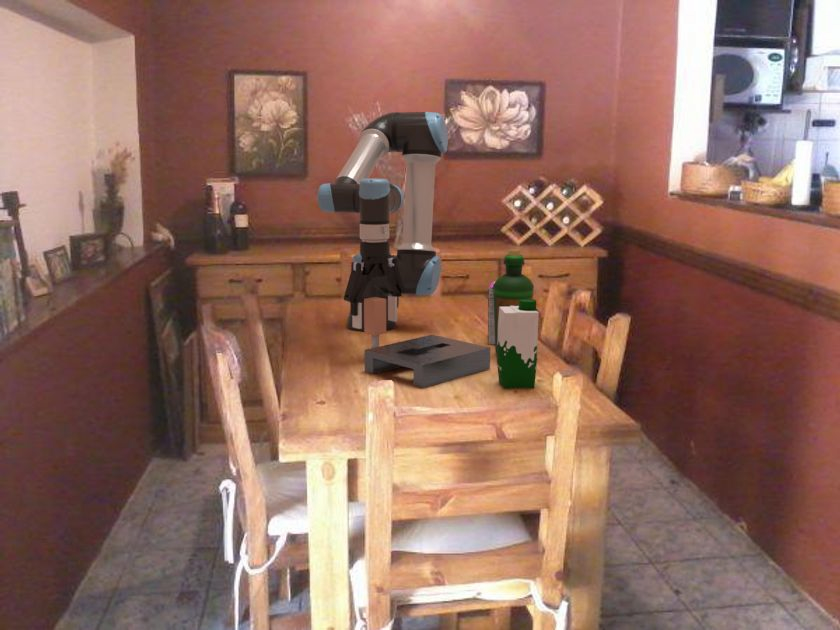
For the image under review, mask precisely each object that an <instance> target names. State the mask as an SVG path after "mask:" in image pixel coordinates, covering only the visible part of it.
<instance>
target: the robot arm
mask: <svg viewBox="0 0 840 630" xmlns="http://www.w3.org/2000/svg"><path fill="white" fill-rule="evenodd" d="M447 130H448V129H447V125H446V121H445V119H444V117H443V116H442V114H441V113H440V112H433V111H432V112H431V111H413V112H412V111H410V112H409V111H407V112H405V111H404V112H394V111H393V112H389V113H385V114H382V115H380V116H379V117H377V118H375V119H374V120H372V121H371V122H369V123H368V124H367V125H366V126H365V127H364V128H363V130H361V132H360V134H359V136H358V137H357V145H356V147H355V149H353V152H352V153H351V155H350V156H349V158H348V159H347V161H346V163H345V164H344V166H343V168H342V169H341V170H340V172H339V174H338V176H337V177H336V179H335V180H334V181H333V183H330V182H329V183H323V184H321V185H319V187H318V191H317V204H318V207H319V208H320V210H321V211H322V212H325V213H334V214H336V213H344V214H345V213H348V214H350V213H351V214H354V213H355V214H359V239H360V240H361V241H360V242H359V252H358V253H356V254H355V255H353V257H352V262H351V265H350V267H351V268H350V270H351V271H350V275H349V278H348V281H347V284H346V288H345V292H344V296H343V301H346V302H348V303H350V306H349V307H350V310H349V314H348V316H347V319H346V326H347V327H346V328H348V329H350V330H353V331H360V332H364V299H366V298H372V297H379V298H384V299H386V331H388V330H393V329H395V328H396V327H397V322H398V309H399V301H400V299H399V297H402V295H407V296H408V295H409V296H410V295H411V296H417V297H418V296H431V295H433V294H434V293H435V292H436V291H437V287H438V286H439V282H440V280H441V276H442V275H441V273H442V260H441V259H442V258H441V257H439V256H437V250H436V249H435V248H434V247H433V246H432V241H433V240H432V237H433V220H434V219H433V217H434V203H435V202H434V201H435V199H434V197H435V178H436V165H437V164H438V163H439V162H440V161H441V160H442V154H444V153H446V152H447V151H448V146H449V139H448V138H449V137H448V131H447ZM389 153H401V158H402V159H403V161H404V162H405V164H406V168H405V169H406V172H405V187H404V188H405V190H404V192H403V190H402V188H400V186H397V185H396V184H393V183H390V181H389V180H388V179H386V178H376V177H373V178H370V176H371V175H372V173H373V171H374V169H375V168H376V166H377V165H378V163H379V161H380V159H382V158H384V157H385V156H386V155H387V154H389ZM403 205H404V208H403V209H404V213H403V233H402V243H401V245H400V246H398V247H397V249H396V251H397V252H396V254H392V252H391V250H390V245H391V243H390V242H389V241H388V240H389V239H390V214H391V215H392V214H393V213H396V212H398V211H399V210H400V209H401V208H402V207H403Z"/></svg>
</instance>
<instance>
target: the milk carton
mask: <svg viewBox="0 0 840 630" xmlns="http://www.w3.org/2000/svg"><path fill="white" fill-rule="evenodd" d="M539 317H540V313H539V311H538V308H537V300H536V299H534V298H533V299H520V300H519V306H510V307H499V318H498V341H497V355H496V364H497V373H498V375H497V376H498V381H499V383H500V384H501V385H502V387H503V389H535V385H536V378H537V377H536V375H537V367H538V340H539V339H538V337H539V336H538V335H539V334H538V333H539V332H538V331H539Z"/></svg>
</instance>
